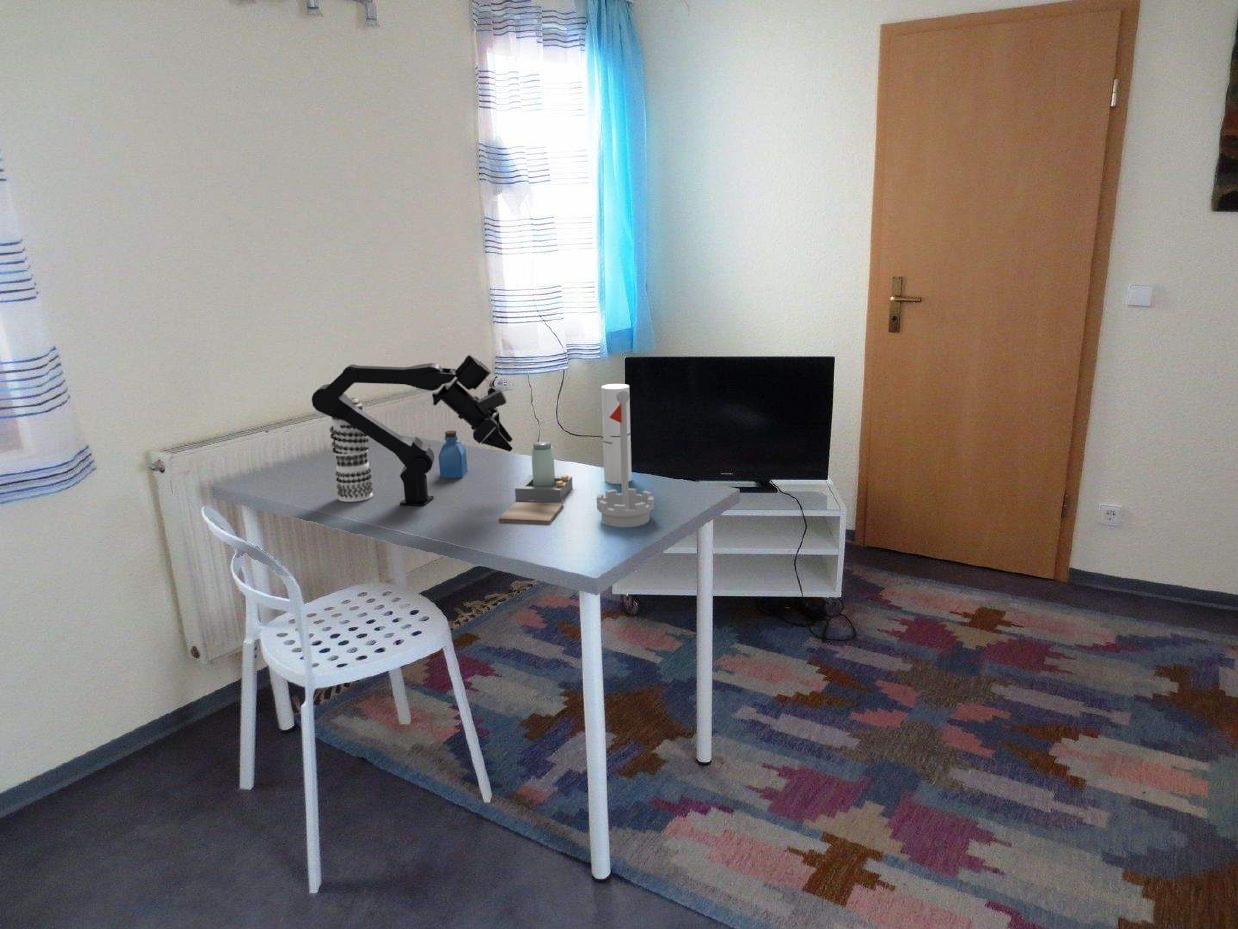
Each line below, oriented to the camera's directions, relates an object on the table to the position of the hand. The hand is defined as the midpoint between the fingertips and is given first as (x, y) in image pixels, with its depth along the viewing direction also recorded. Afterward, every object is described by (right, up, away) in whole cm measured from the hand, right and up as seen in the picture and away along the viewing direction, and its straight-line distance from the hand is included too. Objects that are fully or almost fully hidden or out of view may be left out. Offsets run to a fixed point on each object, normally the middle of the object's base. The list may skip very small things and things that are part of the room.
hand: (511, 445), depth 211 cm
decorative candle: (-40, -13, +5) cm, 42 cm away
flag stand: (+28, -17, -15) cm, 37 cm away
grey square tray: (+8, -12, +4) cm, 15 cm away
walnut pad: (+6, -16, -11) cm, 21 cm away
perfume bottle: (-19, -8, +24) cm, 31 cm away
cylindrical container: (+26, -9, +14) cm, 31 cm away
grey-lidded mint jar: (+8, -12, +4) cm, 15 cm away
